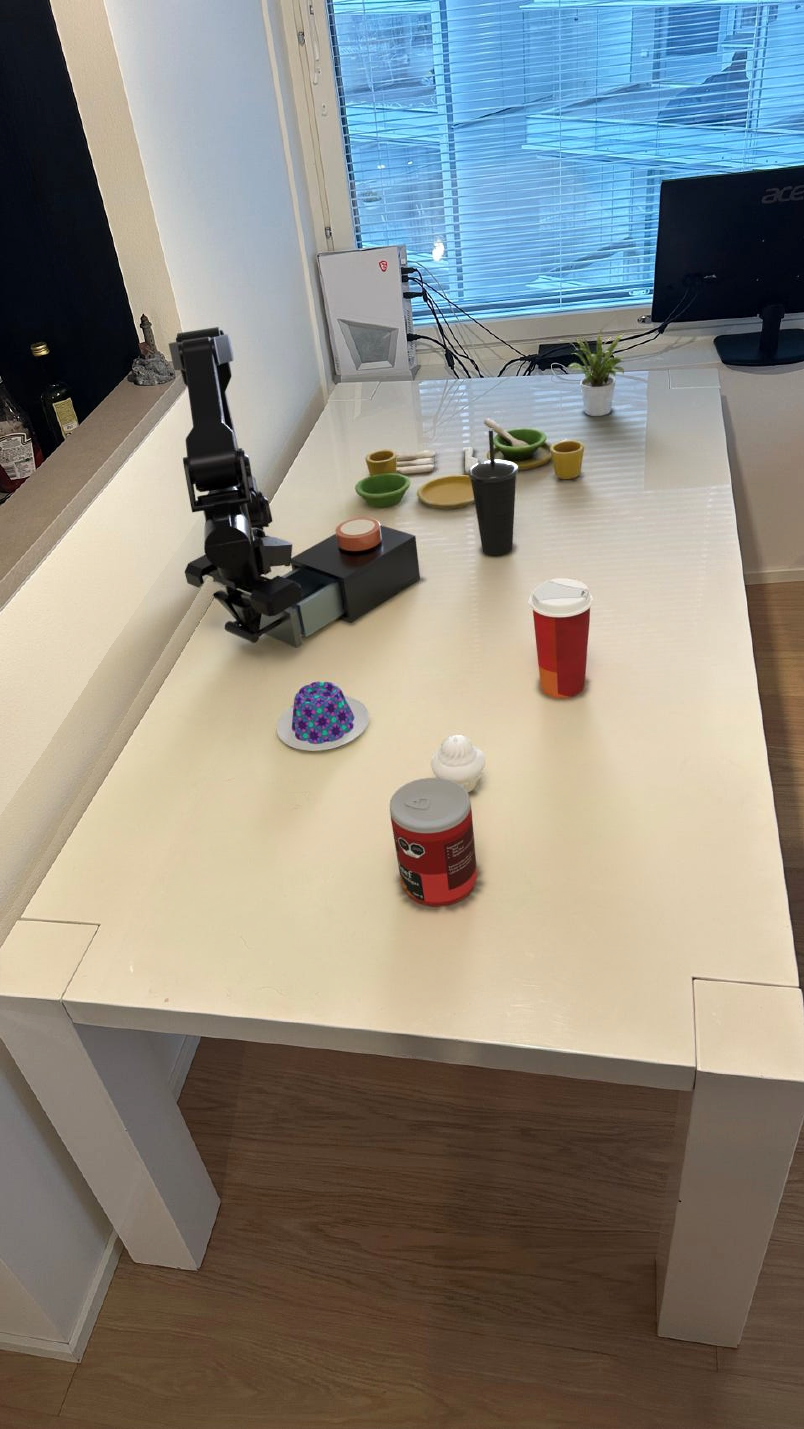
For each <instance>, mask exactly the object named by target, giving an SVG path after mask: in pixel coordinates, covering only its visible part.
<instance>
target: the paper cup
mask: <svg viewBox="0 0 804 1429" xmlns="http://www.w3.org/2000/svg"><path fill="white" fill-rule="evenodd" d="M527 601H528V603H527V604H528V605H529V606H530V608H531V609H532V615H533V617H532V618H533V626H534V636H535V645H536V655H537V665H538V674H539V682H540V688H541V690H542V693H544V694H545V695H547V696H549V697H551V698H553V699H554V698H555V699H569V698H570V699H571V698H573V697H576V696H578V695H579V694H581V693H582V692H583V691H584V689H585V682H586V672H587V659H588V646H589V645H588V644H589V633H590V621H591V607H592V605H593V603H594V598H593V595H592V594H591V592H590V589H589V587H588V586H587V584H585V583H584V582H583V581H580V580H576V579H573V578H565V577H563V578H562V577H561V578H560V577H559V578H553V579H548V580H546V581H543V582H541V583H539V584H538V585H537V586H536V587H535V589H533V591H532V592H531V594H530V596H529V598H528V600H527Z"/></svg>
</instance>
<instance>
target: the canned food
mask: <svg viewBox="0 0 804 1429" xmlns="http://www.w3.org/2000/svg"><path fill="white" fill-rule="evenodd" d="M389 814H390V822H391V828H392V829H391V830H392V835H393V840H394V841H393V842H394V848H395V852H396V858H397V865H398V871H399V877H400V884H401V886H402V888H403V890H404V891H405V893H406V894H407V896H408V897H410V898H411V899H412V900H413V901H414V902H416V903H419V904H422V905H425V906H430V907H444V906H449V905H453V904H456V903H458V902H460V901H462V900H464V899H465V898H466V897H468V895H470V893H471V892H472V891H473V889H474V886H475V884H476V881H477V878H478V870H477V869H478V868H477V857H476V845H475V834H474V822H473V820H474V819H473V811H472V802H471V799H470V795H469V792H468V793H467V791H466V790H465V789H464V788H463V787H462V786H461V785H459V784H458V783H456V782H454V781H451V780H448V779H444V778H437V777H424V778H419V779H415V780H412V781H410V782H407V783H406V784H405V783H404V784H403V785H402V786H400V787H399V788H398V789H397V790H396V791H395V792H394V793H393V795H392V796H391V798H390V801H389Z"/></svg>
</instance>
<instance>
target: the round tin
mask: <svg viewBox="0 0 804 1429" xmlns="http://www.w3.org/2000/svg"><path fill="white" fill-rule="evenodd" d="M380 525H381V524H380V522H379V521H378V520H376V519H374V518H370V517H357V518H351V519H348V520H345V521H342V522H341V523H339V524H338V525H337V526H336V527H335V530H334V531H335V534H336V538H337V544H338V546H339V547H340V548H341V549H344V550H347V551H361V550H366V549H370V548H372V547H374V546H376V545H378V544H379V543H380V542H381V539H382V536H381V529H380Z"/></svg>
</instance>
